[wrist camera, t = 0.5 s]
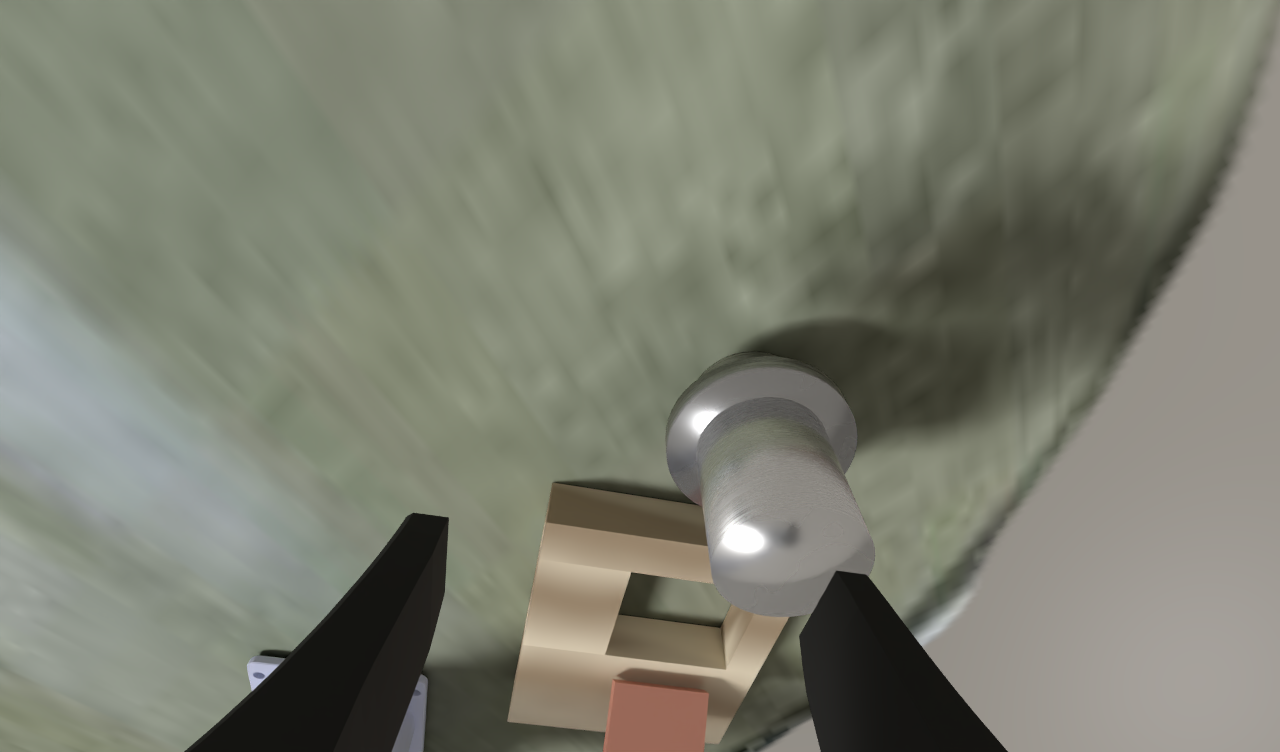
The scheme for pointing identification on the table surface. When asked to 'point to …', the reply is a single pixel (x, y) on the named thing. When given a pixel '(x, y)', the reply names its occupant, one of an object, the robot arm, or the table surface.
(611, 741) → the latch tab
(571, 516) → the hitch block
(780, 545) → the silver knob
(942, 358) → the table surface
